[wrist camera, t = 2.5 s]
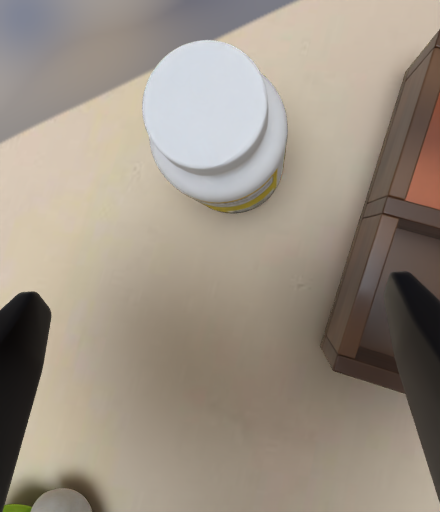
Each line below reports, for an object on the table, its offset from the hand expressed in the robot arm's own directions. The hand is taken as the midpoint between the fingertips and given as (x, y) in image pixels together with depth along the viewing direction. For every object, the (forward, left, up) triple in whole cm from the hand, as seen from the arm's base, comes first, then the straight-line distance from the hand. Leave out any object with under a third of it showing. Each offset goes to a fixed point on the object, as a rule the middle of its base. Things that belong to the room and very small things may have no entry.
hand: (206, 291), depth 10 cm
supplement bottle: (+4, -3, -12) cm, 13 cm away
